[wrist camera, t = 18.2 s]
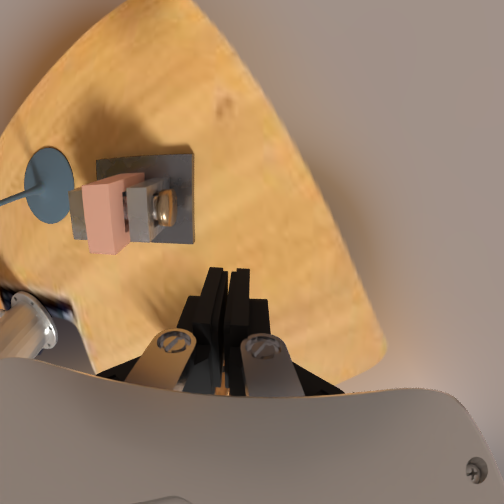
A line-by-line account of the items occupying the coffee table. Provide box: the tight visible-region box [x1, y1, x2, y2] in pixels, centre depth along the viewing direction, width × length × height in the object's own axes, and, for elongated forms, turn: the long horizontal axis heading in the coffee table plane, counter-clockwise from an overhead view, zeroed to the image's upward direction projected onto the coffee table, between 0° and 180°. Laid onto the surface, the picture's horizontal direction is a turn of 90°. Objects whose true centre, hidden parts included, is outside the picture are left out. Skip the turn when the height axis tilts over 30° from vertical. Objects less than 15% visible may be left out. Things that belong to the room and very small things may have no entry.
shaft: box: [122, 189, 178, 227], centre depth 25 cm, size 9×4×4 cm, turn 88°
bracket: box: [68, 154, 195, 244], centre depth 26 cm, size 12×10×8 cm
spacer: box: [82, 173, 145, 255], centre depth 25 cm, size 3×6×8 cm, turn 178°
